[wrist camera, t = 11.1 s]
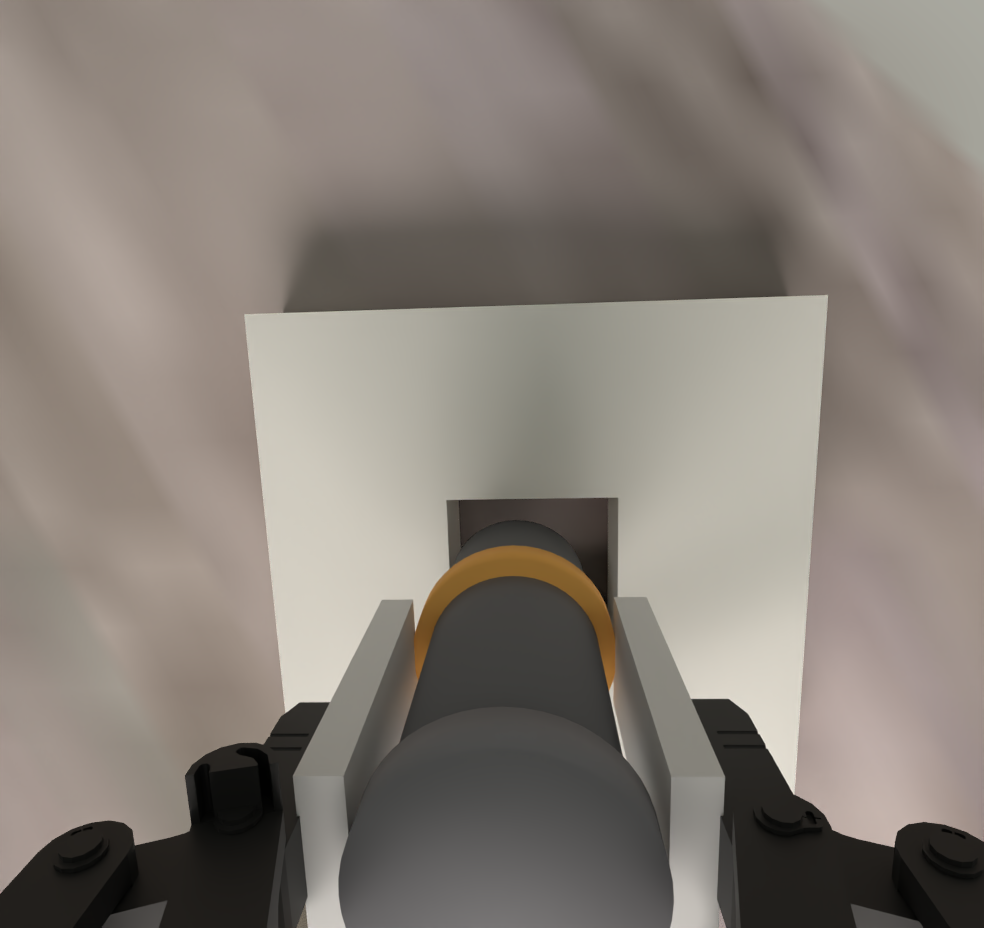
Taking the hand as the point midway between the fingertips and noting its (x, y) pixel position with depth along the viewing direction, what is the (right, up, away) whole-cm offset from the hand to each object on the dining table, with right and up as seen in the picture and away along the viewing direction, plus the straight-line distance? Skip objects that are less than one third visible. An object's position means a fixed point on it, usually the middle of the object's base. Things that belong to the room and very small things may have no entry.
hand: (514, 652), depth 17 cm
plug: (0, +1, +4) cm, 4 cm away
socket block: (+1, +2, +7) cm, 7 cm away
